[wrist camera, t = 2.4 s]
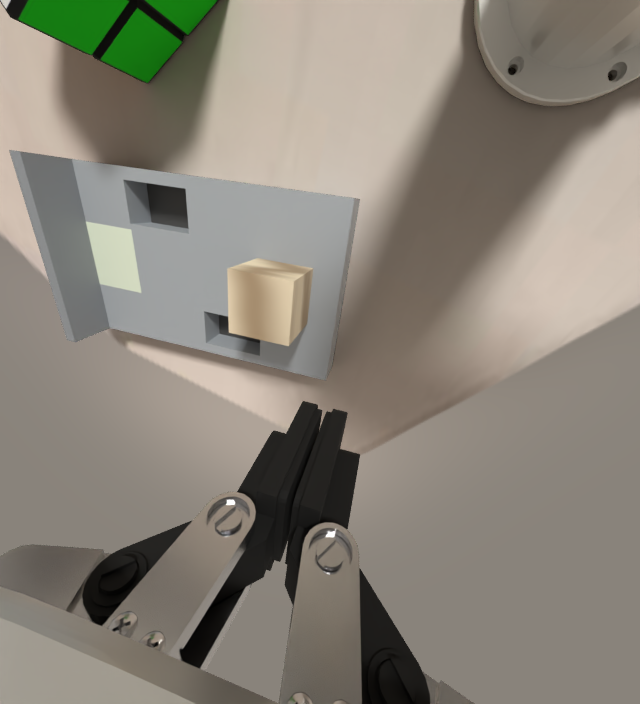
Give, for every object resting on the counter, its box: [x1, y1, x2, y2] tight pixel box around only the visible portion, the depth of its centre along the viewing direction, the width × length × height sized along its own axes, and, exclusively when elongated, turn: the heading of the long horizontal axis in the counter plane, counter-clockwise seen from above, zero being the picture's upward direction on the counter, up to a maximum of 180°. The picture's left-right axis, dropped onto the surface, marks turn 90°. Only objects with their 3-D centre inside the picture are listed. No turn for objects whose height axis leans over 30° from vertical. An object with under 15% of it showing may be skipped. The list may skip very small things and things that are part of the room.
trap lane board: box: [9, 150, 360, 381], centre depth 27 cm, size 26×16×7 cm, turn 82°
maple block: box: [227, 258, 313, 346], centre depth 24 cm, size 5×5×5 cm
